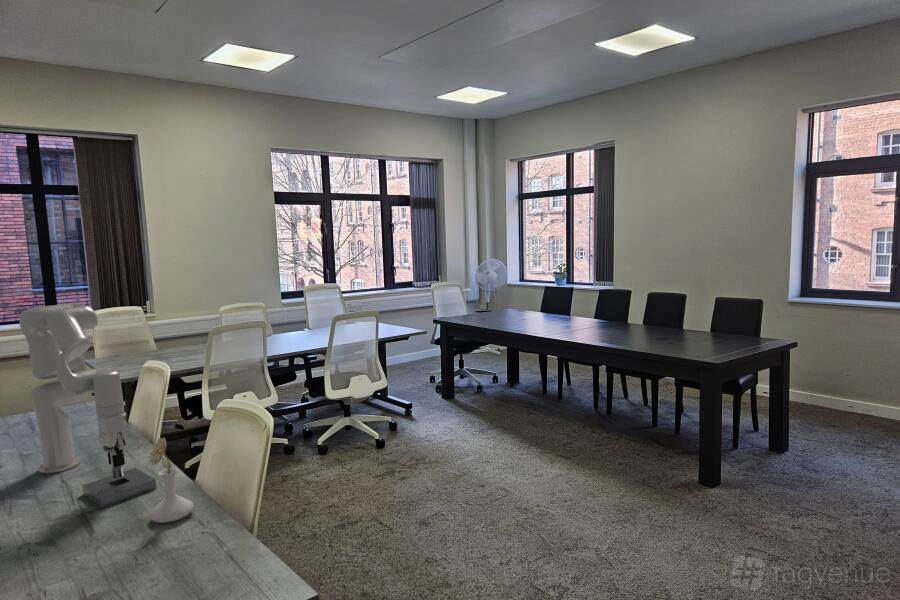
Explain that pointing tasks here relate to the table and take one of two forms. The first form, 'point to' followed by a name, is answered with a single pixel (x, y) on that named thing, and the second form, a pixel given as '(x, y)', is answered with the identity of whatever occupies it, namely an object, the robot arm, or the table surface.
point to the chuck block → (119, 487)
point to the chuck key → (116, 471)
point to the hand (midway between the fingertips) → (116, 463)
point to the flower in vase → (168, 489)
